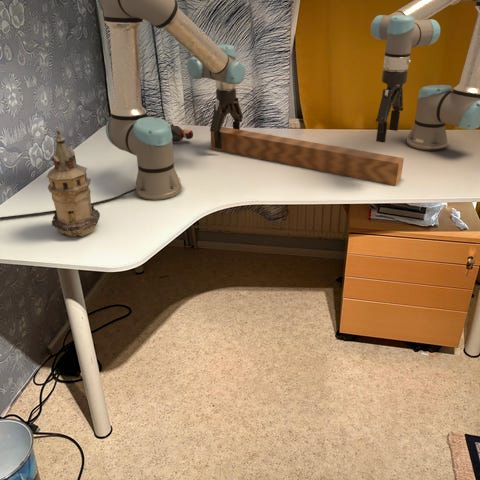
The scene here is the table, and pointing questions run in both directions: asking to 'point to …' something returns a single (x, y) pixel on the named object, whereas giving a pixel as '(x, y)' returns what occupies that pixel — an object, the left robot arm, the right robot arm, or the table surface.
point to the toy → (180, 133)
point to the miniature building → (70, 193)
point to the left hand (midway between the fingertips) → (227, 142)
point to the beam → (312, 155)
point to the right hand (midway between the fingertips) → (387, 135)
